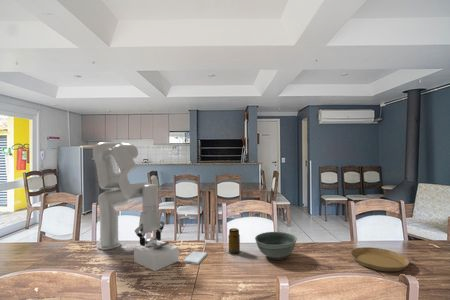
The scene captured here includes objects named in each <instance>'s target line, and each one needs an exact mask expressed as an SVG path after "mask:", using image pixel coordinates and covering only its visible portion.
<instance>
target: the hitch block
mask: <svg viewBox="0 0 450 300" xmlns="http://www.w3.org/2000/svg"><path fill="white" fill-rule="evenodd" d="M166 242H167V241H166ZM166 242H165V241H162V240H161V241H158V240H157V245H160V244H163V243H166ZM157 245H156V246H157ZM133 262H134V263H136V264H138V265H141V266H142V267H145V268H147V269H149V270H151V271H154V272H156V271H158V270H161V269H163V268H166V267H167V266H169V265H173V264H175V263H177V262H179V246H177V245H174V244H173V243H172V244H171V243H169V244H167V245H165V246H162V247H159V248H156V249H153V247H150V248H149V247H144V246H142V245H140V244H139V245H137V246H134V247H133Z"/></svg>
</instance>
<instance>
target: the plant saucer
mask: <svg viewBox="0 0 450 300" xmlns="http://www.w3.org/2000/svg"><path fill="white" fill-rule="evenodd" d="M350 255H351V257H352V258H353V260H354V261H355V262H356V263H358V264H360V265H361V266H363V267H365V268H368V269H371V270H375V271H379V272H380V271H381V272H389V273H390V272H392V273H393V272H399V271H403V270H404V269H406V268H408V266H409V265H410V260H409V259H408V257H406V256H404V255H403V254H400V253H398V252H395V251H392V250H388V249H384V248H379V247H370V246H368V247H367V246H366V247H363V246H362V247H357V248H353V249H352V250H351V251H350Z"/></svg>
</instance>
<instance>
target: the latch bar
mask: <svg viewBox="0 0 450 300" xmlns="http://www.w3.org/2000/svg"><path fill="white" fill-rule="evenodd" d="M167 244H170V242H169V241H166V243H163V244H160V245H157V246H154V247H153V249H156V248H159V247H162V246H165V245H167Z"/></svg>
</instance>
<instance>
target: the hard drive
mask: <svg viewBox="0 0 450 300" xmlns="http://www.w3.org/2000/svg"><path fill="white" fill-rule="evenodd" d="M207 255H208V252H203V251H197V250H196V251H191V252H190V254H188V255H187V256H186V257H185V258H184V259H182V263H183V264H191V265H199V264H200V263H201V262H202V261H203V260H204V259H205V258H206V257H207Z"/></svg>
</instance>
